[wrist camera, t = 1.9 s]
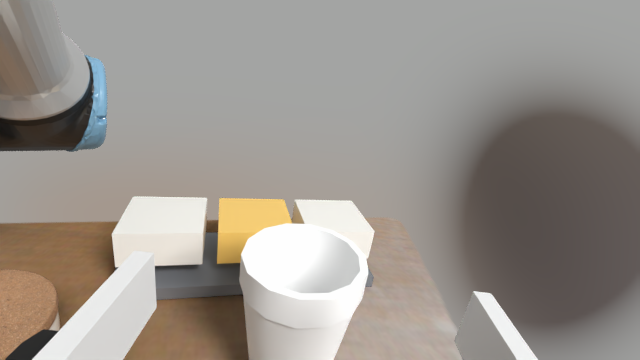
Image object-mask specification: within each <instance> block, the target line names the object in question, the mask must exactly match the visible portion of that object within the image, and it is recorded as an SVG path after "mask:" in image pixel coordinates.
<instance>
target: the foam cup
mask: <svg viewBox="0 0 640 360" xmlns="http://www.w3.org/2000/svg"><path fill="white" fill-rule="evenodd" d="M367 277H368V267H367V261H366V256H365V255H364V253H363V252H362V251H361V250H360V249H359V248H358V247H357V245H356V244H355V243H354V242H353V241H352V240H350V239H348V238H346V237H344V236H343V235H341V234H339V233H337V232H335V231H334V230H330V229H326V228H323V227H319V226H315V225H311V224H290V223H286V224H281V225H277V226H272V227H268V228H264V229H263V230H261V231H259V232H258V233H256V234H255V235H253V236H252V237H250V238H249V239H248V240H247V242H246V245H245V247H244V249H243V251H242V253H241V262H240V277H239V282H240V285H241V289H242V292H243V298H244V310H245V321H246V332H247V344H248V355H249V360H334V357H335V355H336V353H337V350H338V348H339V346H340V343H341V341H342V338H343V336H344V334H345V331H346V329H347V327H348V324H349V322H350V319H351V317H352V315H353V313H354V311H355V309H356V308H357V306H358V304H359V303H360V301H361V300H362V297H363V293H364V289H365V285H366V281H367Z"/></svg>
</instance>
